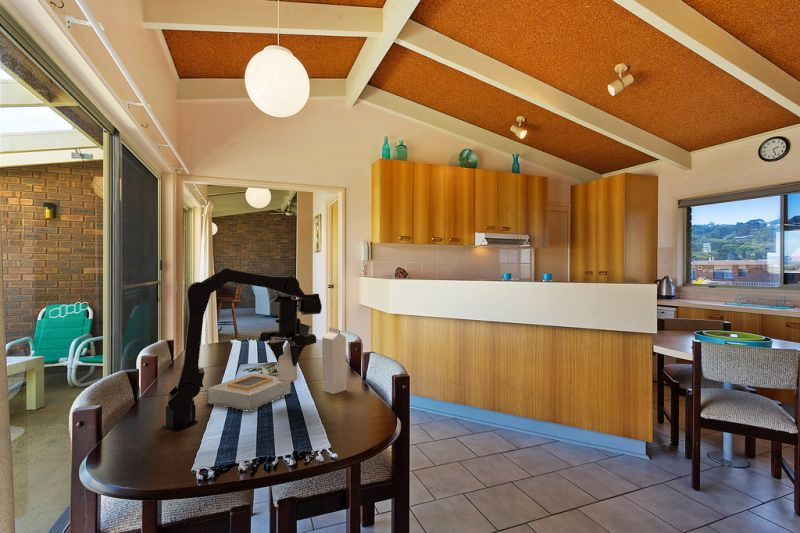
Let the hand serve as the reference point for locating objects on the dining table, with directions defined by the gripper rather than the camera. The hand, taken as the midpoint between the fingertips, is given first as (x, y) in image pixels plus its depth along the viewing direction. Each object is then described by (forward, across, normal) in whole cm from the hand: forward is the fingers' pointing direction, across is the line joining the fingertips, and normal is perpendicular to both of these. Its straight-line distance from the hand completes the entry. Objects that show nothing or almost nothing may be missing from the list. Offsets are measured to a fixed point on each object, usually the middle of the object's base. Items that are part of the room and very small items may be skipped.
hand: (287, 364), depth 119 cm
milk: (+12, -6, -18) cm, 22 cm away
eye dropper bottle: (+5, 0, 0) cm, 5 cm away
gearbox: (+13, +15, -2) cm, 20 cm away
